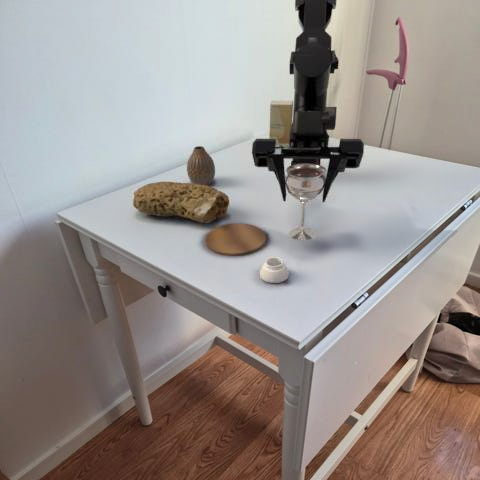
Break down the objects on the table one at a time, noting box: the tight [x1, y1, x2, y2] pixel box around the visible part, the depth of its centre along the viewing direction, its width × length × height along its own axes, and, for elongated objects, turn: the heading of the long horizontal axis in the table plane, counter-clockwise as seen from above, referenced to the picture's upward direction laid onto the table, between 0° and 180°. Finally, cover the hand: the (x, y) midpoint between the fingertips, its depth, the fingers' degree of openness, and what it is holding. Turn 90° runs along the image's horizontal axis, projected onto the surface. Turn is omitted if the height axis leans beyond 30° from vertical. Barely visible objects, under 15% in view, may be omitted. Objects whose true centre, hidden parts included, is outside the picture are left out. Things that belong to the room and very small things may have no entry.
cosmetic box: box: [268, 100, 294, 147], centre depth 121 cm, size 6×4×12 cm
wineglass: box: [285, 163, 327, 241], centre depth 75 cm, size 7×7×12 cm
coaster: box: [204, 223, 267, 256], centre depth 83 cm, size 12×12×1 cm
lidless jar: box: [259, 256, 290, 284], centre depth 72 cm, size 5×3×5 cm
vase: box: [186, 145, 216, 186], centre depth 104 cm, size 7×7×9 cm
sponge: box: [132, 181, 230, 224], centre depth 91 cm, size 13×8×20 cm
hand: (303, 201), depth 73 cm, fingers closed on wineglass, 6 cm apart
